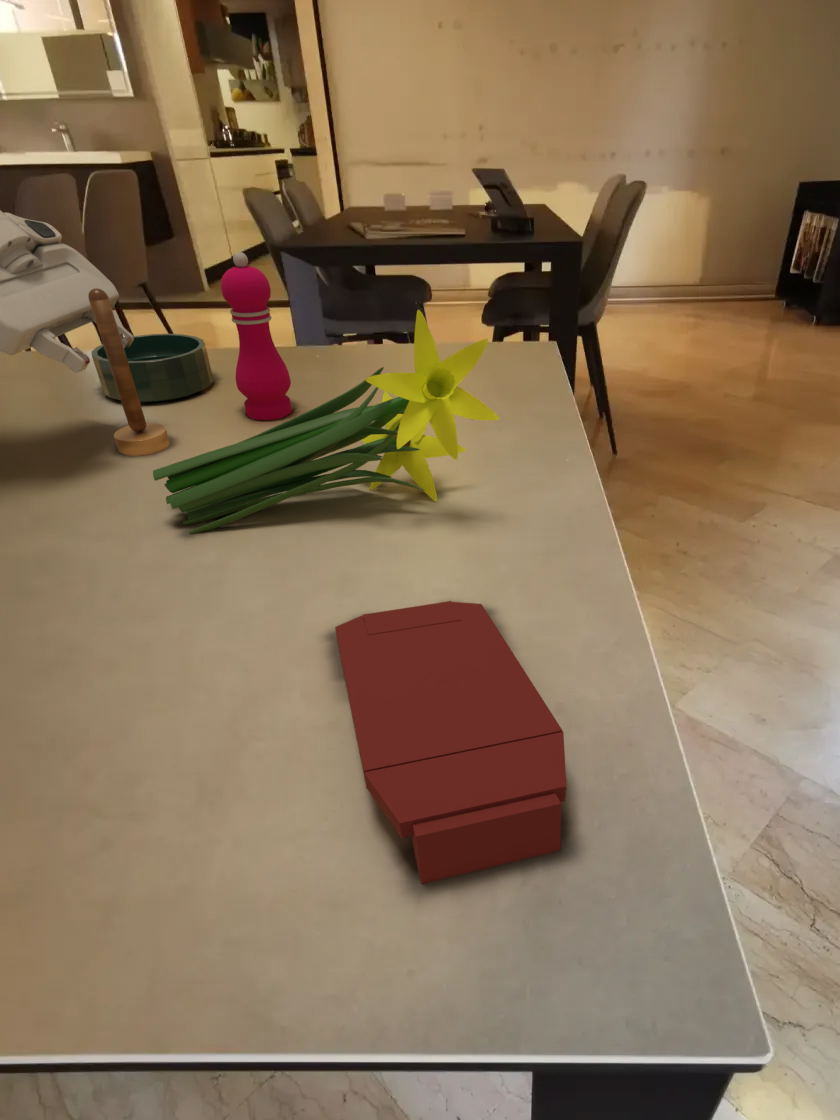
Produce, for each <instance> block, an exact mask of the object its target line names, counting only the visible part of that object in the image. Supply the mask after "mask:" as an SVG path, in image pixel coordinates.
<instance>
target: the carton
mask: <svg viewBox="0 0 840 1120" xmlns="http://www.w3.org/2000/svg"><path fill="white" fill-rule="evenodd" d="M334 628H335V636H336V641H337V646H338V651H339V656H340V661H341V666H342V671H343V677H344V680H345V682H344V683H345V687H346V692H347V697H348V702H349V707H350V713H351V717H352V722H353V729H354V732H355V738H356V743H357V748H358V751H359V753H358V754H359V759H360V763H361V769H362V773H363V778H364V782H365V783H364V784H365V789H366V790H367V791H368V792H369V794H370V795H371V797H372V799H374V802H375V803H376V804H377V805H378V807H379V809H380V810H381V811H382V813H383V814H384V815H385V817H386V818H387V820H388V821H389V822H390V824H391V825H392V827H393V828H394V830H395V831H396V833H397V834H398V836H399V837H400V839H406V838H409V837H411V838H412V847H413V854H414V858H415V864H416V867H417V871H418V876H419V880H420V883H421V885H423V884H427V883H431V882H435V881H440V880H444V879H448V878H452V877H455V876H460V875H464V874H468V873H472V872H477V871H480V870H484V869H488V868H492V867H493V868H494V867H497V866H501V865H505V864H510V863H513V862H518V861H521V860H522V861H523V860H525V859H529V858H530V859H531V858H534V857H538V856H542V855H547V854H551V853H554V852H559V851H561V835H562V834H561V833H562V832H561V831H562V830H561V829H562V803H563V802H565V801H566V793H567V770H566V769H567V767H566V752H565V737H564V736H565V734H564V731H563V730H564V729H562V727H561V726H560V724H559V722H558V721H557V720H556V717H555V716H554V715H553V713H552V712H551V709H549V707H548V706H547V704H546V702H545V701H544V699H543V698H542V696H541V694H540V693H539V691H538V690H537V688H536V686H535V685H534V683H533V682H532V680H531V678H530V677H529V675H528V674H527V672H526V671H525V670H524V667H523V666H522V664H521V662H520V661H519V660H518V659H517V657H516V655H515V653H514V652H513V651H512V649H511V647H510V646H509V645H508V643H507V641H506V640H505V638H504V637H503V635H502V633H501V632H500V630H499V629H498V627H497V626H496V624H495V622H494V621H493V620H492V618H491V616H490V615H489V613H488V612H487V610H486V608H485V607H484V605H483V604H482V603H473V602H460V601H451V600H450V601H449V600H448V601H441V602H436V603H429V604H421V605H415V606H408V607H403V608H397V609H396V608H395V609H389V610H384V611H377V612H370V613H364V614H362V615H359V616H357V617H355V618H352V619H350V620H347V621H346V622H343V623H341V624H338V625H336V626H335V627H334Z"/></svg>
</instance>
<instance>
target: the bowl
mask: <svg viewBox="0 0 840 1120" xmlns="http://www.w3.org/2000/svg"><path fill="white" fill-rule="evenodd" d="M133 337H134V340H133V342H132V344H131V345H130V346H129V347H127V348H125V349H124V351H125V354H126V357H127V361H128V364H129V367H130V371H131V374H132V377H133V381H134V384H135V387H136V391H137V394H138V397H139V401H140V403H160V402H168V401H173V400H174V401H175V400H179V399H182V398H187V397H189V396H192V395H194V394H196V393H198V392H202V391H204V390H205V389H208V387H210V386H211V385H212V384H213V382H214V376H213V372H212V368H211V363H210V358H209V353H208V350H207V347H206V343H205V341H204V339H202V338H200V337H198V336H194V335H189V334H184V333H183V334H182V333H151V334H142V335H141V334H140V335H133ZM91 358H92V362H93V364H94V367H95V370H96V373H97V376H98V379H99V383H100V385H101V388H102V391H103V394H104V395H105V396H107V397H109V398H111V399H114V400H118V401H121V399H120V396H119V393H118V390H117V387H116V384H115V381H114V377H113V374H112V371H111V368H110V365H109V362H108V358H107V355H106V352H105V349H104V346H103V344H100V345H98V346H96V347H95V348H94V349H92V350H91Z"/></svg>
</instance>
